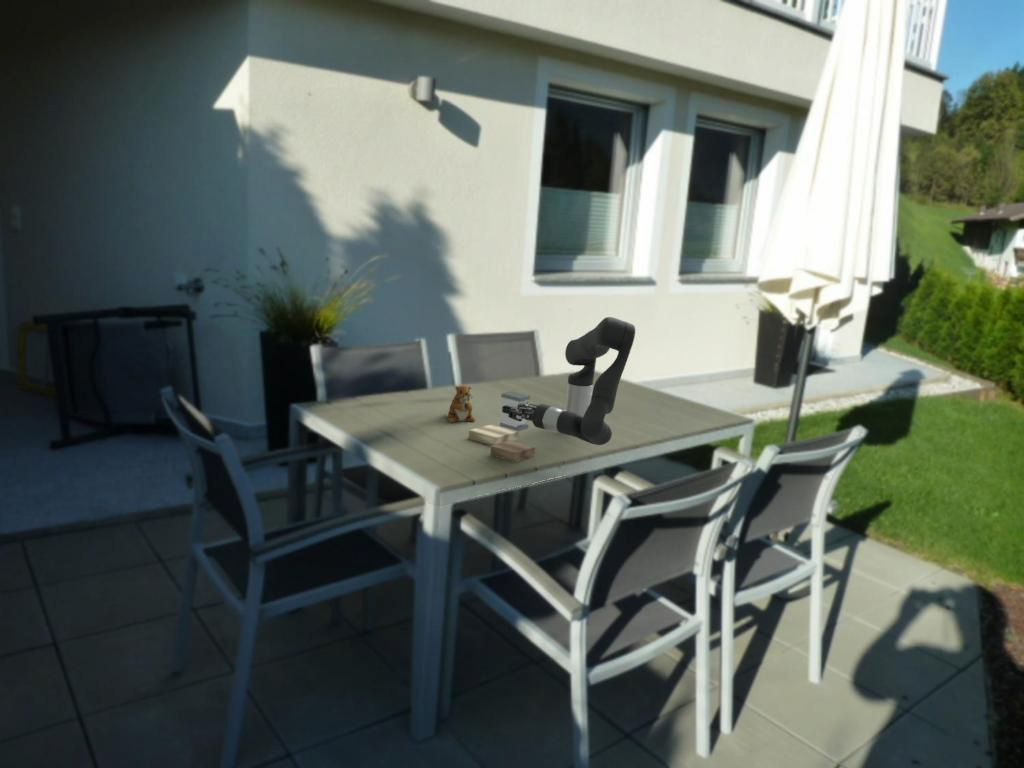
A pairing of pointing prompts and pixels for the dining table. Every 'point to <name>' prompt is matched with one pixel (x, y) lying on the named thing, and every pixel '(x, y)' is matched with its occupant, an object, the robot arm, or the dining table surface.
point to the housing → (514, 401)
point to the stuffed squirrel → (461, 406)
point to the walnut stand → (512, 451)
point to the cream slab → (493, 434)
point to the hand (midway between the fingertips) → (508, 407)
